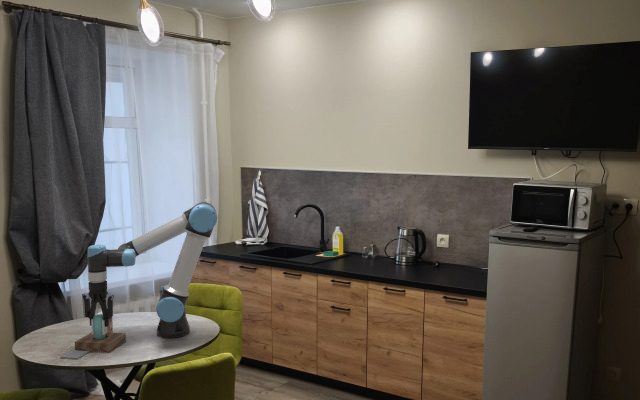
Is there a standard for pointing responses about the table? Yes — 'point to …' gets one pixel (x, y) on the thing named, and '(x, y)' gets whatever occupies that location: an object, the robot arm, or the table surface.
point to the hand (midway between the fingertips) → (99, 333)
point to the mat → (74, 354)
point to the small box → (110, 327)
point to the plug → (98, 327)
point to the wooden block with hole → (100, 342)
